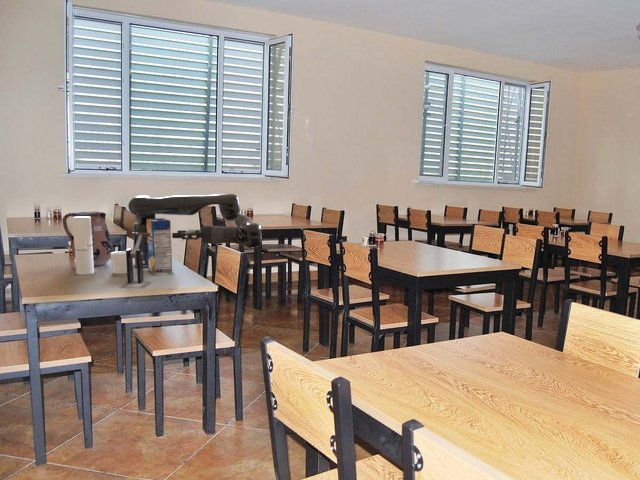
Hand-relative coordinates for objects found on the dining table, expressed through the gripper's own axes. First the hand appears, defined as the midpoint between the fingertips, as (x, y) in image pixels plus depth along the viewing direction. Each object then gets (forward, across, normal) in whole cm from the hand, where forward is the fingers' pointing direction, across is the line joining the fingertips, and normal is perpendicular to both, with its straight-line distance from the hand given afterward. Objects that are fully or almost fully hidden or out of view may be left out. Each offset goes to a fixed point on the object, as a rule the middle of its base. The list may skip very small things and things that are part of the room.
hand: (175, 234), depth 275 cm
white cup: (+26, +9, -20) cm, 34 cm away
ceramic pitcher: (+49, +34, -20) cm, 63 cm away
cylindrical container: (+43, +13, -20) cm, 49 cm away
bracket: (+13, -13, -20) cm, 27 cm away
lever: (+13, -7, -4) cm, 16 cm away
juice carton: (+11, +15, -20) cm, 27 cm away
